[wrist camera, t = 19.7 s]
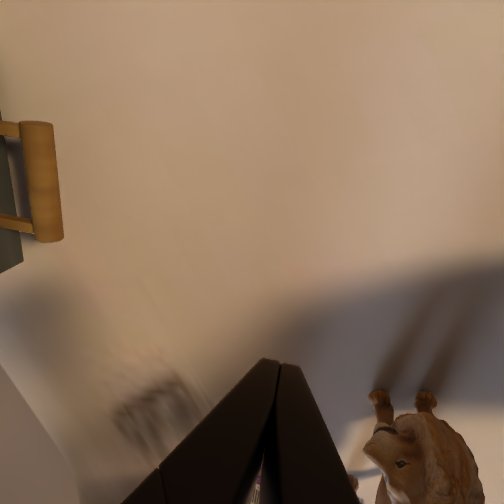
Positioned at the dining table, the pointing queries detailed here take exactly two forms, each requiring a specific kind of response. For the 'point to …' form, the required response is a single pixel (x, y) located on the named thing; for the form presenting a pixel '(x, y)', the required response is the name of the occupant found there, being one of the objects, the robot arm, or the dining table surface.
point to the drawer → (29, 190)
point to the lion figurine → (420, 457)
